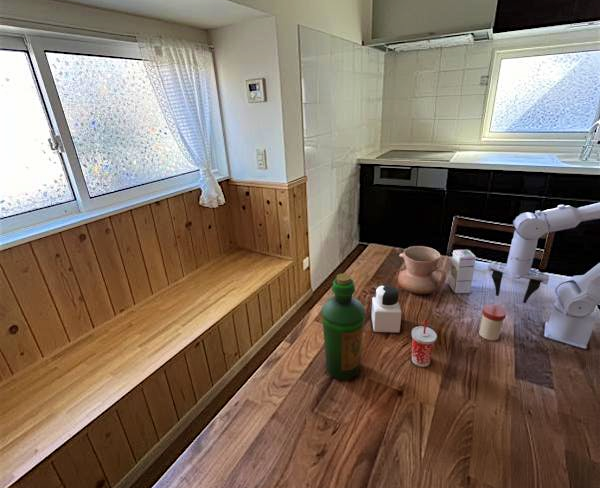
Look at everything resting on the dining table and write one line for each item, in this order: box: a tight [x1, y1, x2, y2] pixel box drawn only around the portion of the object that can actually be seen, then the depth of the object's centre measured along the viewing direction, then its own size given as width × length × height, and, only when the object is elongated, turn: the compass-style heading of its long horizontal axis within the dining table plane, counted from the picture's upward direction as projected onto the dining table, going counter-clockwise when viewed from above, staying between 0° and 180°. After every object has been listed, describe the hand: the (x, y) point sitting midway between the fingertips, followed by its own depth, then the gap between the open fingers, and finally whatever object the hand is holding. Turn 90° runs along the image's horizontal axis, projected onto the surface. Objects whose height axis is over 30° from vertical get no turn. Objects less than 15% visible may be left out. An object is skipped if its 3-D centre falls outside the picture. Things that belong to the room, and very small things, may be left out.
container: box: [371, 284, 403, 334], centre depth 102 cm, size 8×8×13 cm
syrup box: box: [448, 249, 477, 294], centre depth 118 cm, size 6×6×14 cm
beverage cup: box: [411, 316, 438, 368], centre depth 87 cm, size 6×6×14 cm
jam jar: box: [478, 314, 504, 341], centre depth 97 cm, size 5×5×8 cm
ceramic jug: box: [397, 245, 447, 295], centre depth 119 cm, size 18×14×14 cm
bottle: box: [321, 273, 366, 381], centre depth 83 cm, size 11×11×28 cm
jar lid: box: [481, 304, 507, 321], centre depth 95 cm, size 6×6×2 cm
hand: (510, 297), depth 98 cm, fingers open, 6 cm apart
